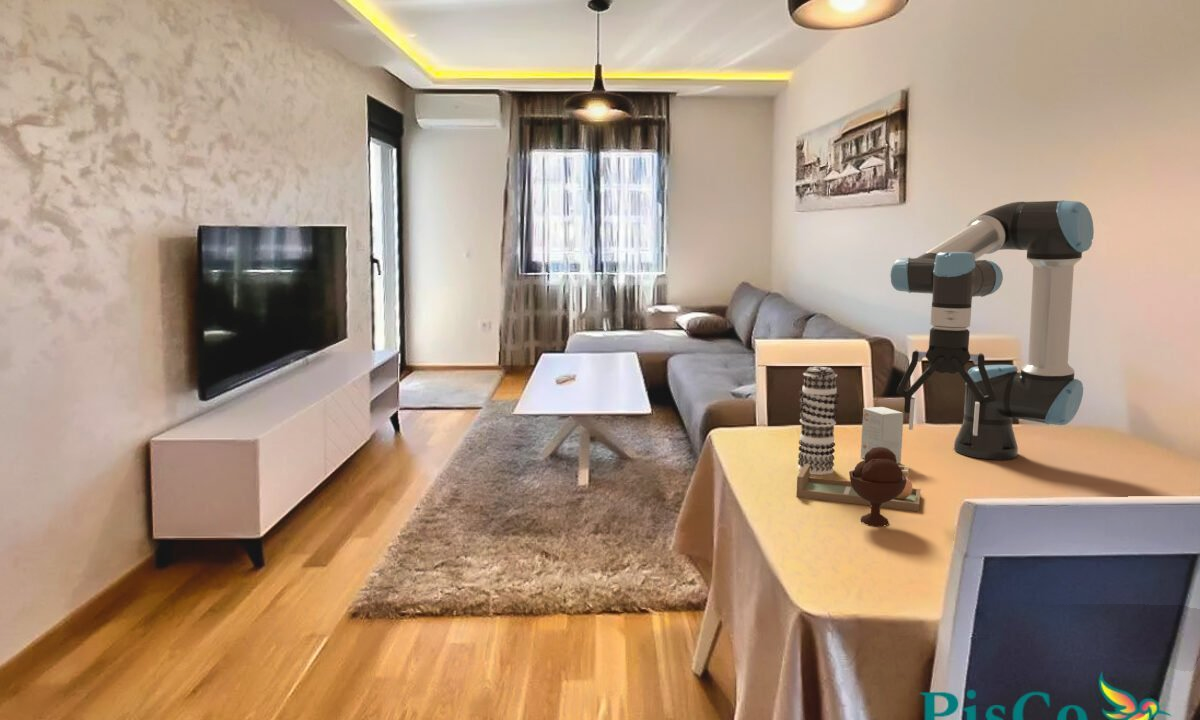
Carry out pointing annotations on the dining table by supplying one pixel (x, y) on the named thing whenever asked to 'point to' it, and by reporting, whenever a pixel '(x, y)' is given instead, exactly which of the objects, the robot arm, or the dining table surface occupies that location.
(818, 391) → the decorative candle
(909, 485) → the ball
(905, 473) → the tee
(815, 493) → the tray
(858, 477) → the ice cream bowl
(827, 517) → the dining table surface
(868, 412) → the small box
